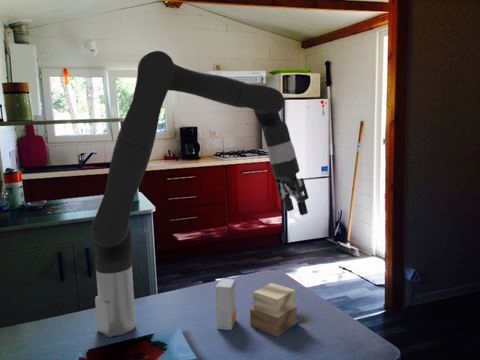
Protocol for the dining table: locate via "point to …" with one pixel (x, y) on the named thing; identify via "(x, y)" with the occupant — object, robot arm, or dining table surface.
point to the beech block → (274, 300)
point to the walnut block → (273, 321)
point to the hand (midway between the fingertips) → (297, 212)
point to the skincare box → (225, 304)
